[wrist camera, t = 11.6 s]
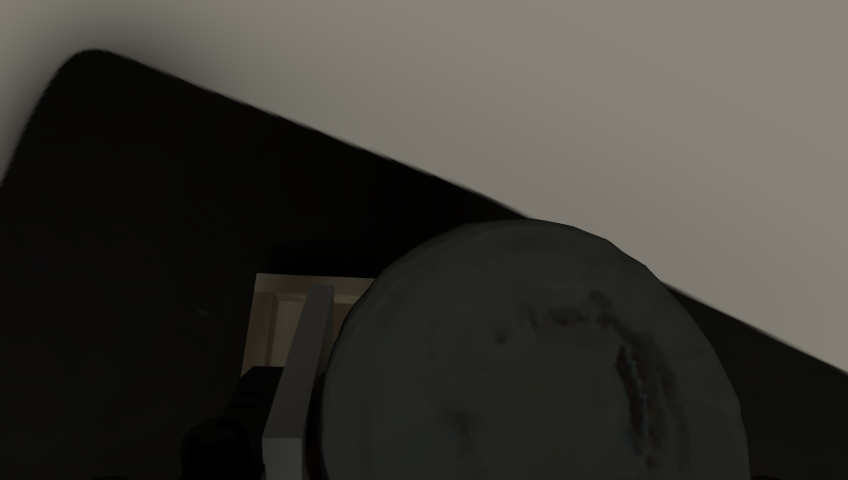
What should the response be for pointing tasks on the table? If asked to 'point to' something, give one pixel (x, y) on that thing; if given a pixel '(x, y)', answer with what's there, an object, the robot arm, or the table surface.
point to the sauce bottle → (523, 368)
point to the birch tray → (290, 313)
